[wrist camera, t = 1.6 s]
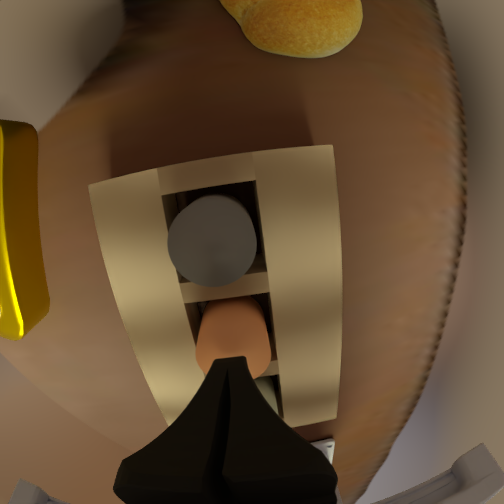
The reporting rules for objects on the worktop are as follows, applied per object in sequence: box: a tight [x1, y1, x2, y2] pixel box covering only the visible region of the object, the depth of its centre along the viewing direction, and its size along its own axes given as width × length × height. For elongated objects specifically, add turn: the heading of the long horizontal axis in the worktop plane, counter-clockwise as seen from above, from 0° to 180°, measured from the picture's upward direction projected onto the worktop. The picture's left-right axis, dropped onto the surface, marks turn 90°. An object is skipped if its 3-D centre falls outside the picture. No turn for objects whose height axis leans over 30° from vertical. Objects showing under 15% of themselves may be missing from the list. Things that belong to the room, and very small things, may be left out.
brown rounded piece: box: [195, 295, 271, 379], centre depth 15 cm, size 4×4×4 cm
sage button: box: [253, 376, 279, 415], centre depth 16 cm, size 4×4×4 cm
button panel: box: [88, 145, 342, 428], centre depth 16 cm, size 18×12×3 cm, turn 8°
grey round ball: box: [167, 193, 257, 287], centre depth 13 cm, size 4×4×4 cm
